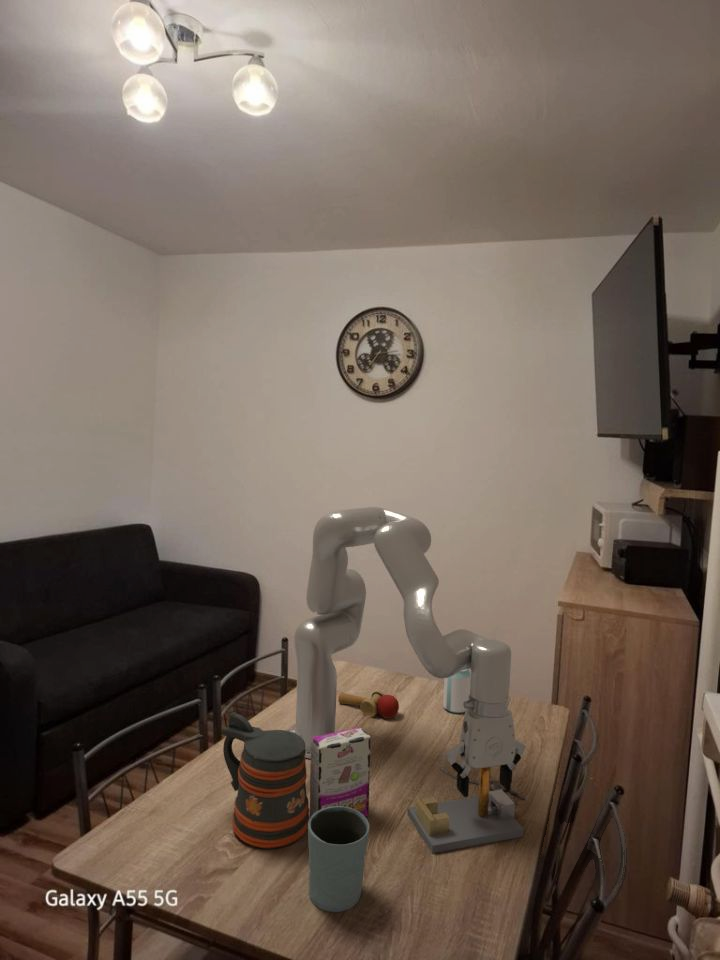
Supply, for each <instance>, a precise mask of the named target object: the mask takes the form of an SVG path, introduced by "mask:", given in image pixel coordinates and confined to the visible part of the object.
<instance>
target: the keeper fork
mask: <svg viewBox="0 0 720 960" xmlns="http://www.w3.org/2000/svg"><path fill="white" fill-rule="evenodd" d="M438 803H439V801H438V800H437V799H436V797H435V796H434V797H429V798H428V797H427V798H422V799H416V800H415V806H416V810H415V815H416V817H417V818H418V820H419V821H420V823H421V824H422V826H423V827H424V829H425V831H426V832H427V834H428V835H429V836H433V835H439V834H444V833H449V818H450V817H449V816H448V815H447V813H440V814H437V813H438Z"/></svg>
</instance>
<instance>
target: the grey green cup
mask: <svg viewBox="0 0 720 960" xmlns="http://www.w3.org/2000/svg"><path fill="white" fill-rule="evenodd" d="M307 832H308V833H307V835H308V836H307V840H308V841H307V845H308V854H309V856H308V859H309V860H308V869H309V872H308V893H309V894H308V895H309V899H310V900H311V902H312V903H313V904H314V905H315V907H317V908H318V909H320V910H322V911H326V912H329V913H340V912H344V911H348V910H350V909H352V908H353V907H354V906H356V905H357V904H358V902H359V901H360V898H361V894H362V888H363V879H364V871H365V869H364V868H365V862H366V860H365V856H366V854H367V847H368V842H369V837H370V836H369V835H370V823H369V821H368V819H367V818H366V816H364V815H363V814H361V813H360V812H358V811H357V810H354V809H352V808H348V807H343V806H332V807H326V808H323V809H321V810H319V811H317V812H315V813H314V814H313V815H312V816H311V818H310V817H309V822H308V829H307Z"/></svg>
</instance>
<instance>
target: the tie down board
mask: <svg viewBox="0 0 720 960" xmlns="http://www.w3.org/2000/svg"><path fill="white" fill-rule="evenodd" d="M478 797H479V795H477V796H472V797H464V798H459V799H453V800H452V799H451V800H445V801H440V802H439V801H438V813H437V814H440V813H447V815H448V816H449V817H450V818H449V833H444V834H439V835H433V836H429V835H428V834H427V832H426V831H425V829H424V827H423V826H422V824H421V823H420V821H419V820H418V818H417V817H416V815H415V810H416V805H415V806H408V807H407V817H408V819H409V820H410V821H411V823H412V824H413V825H414V827H415V829H416V830H417V832H418V834H419V835H420V837H421V839H423V841H424V843H425V844H426V846H427V848H428V849H429V851H430V852H431V854H436V853H441V852H447V851H454V850H458V849H462V848H463V849H465V848H469V847H475V846H479V845H485V844H489V843H496V842H502V841H507V840H513V839H517V838H518V839H519V838H523V837H524V829H525V828H523V826H521V824H520V823H519V822H518V821H517V820H516V818H515V817H514V818H512V819H507V820H501V821H500V819H499V818H498V817H497V814H493V813H492V814H491V815H488V816H486V817H482V816H479V815H478Z"/></svg>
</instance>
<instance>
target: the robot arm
mask: <svg viewBox="0 0 720 960" xmlns="http://www.w3.org/2000/svg"><path fill="white" fill-rule="evenodd" d="M430 532H431V531H430V530H429V528H428V527H427V525H425V523H424V522H423V521H420V520H419V519H417V518H414V517H411V516H408V515H406V514H402V513H398V512H396V511H392V510H390V509H386V508H383V507H378V506H370V507H369V506H368V507H359V508H349V509H342V510H336V511H332V512H329V513H326V514H324V515H322V517H320V519H318V521H317V522H316V523H315V526H314V529H313V535H312V554H311V555H312V556H311V562H310V569H309V575H308V582H307V588H306V598H305V600H306V604H307V607H308V609H309V610H310V612H312V613H313V614H315V615H317V616H314V617H310V618H308V619H306V620H304V621H302V622H301V623H300V624H298V626H297V628H296V629H295V632H294V636H293V643H294V650H295V656H296V657H295V658H296V673H297V674H296V675H297V676H296V701H295V704H296V705H295V708H296V709H295V710H296V711H295V724H292V728H291V729H288V731H290V732H293V733H295V734H297V735H299V736H300V737H301V738H302V739H303V740H304V742H305V749H306V754H305V759H310V760H311V738H312V737H317V736H321V735H326V734H330V733H335V732H336V721H337V720H336V717H337V715H336V714H337V688H338V687H337V685H338V681H337V680H338V675H337V668H336V666H335V664H334V662H333V658H332V656H333V654H337V653H338V652H341V651H344V650H346V649H349V647H352V646H353V645H354V644H356V642H357V641H358V639H359V636H360V632H361V629H362V623H363V617H364V611H365V610H364V609H365V603H366V598H367V589H366V588H367V587H366V583H365V580H364V579H363V577H362V575H361V574H360V573H359V572H358V571H357V570H354V569H352V568H348V565H349V555H348V552H347V549H346V548H353V547H359V546H366V545H371V544H372V545H373V544H374V549H375V551H376V552H377V554H378V557H379V558H380V559H381V562H382V564H383V565H384V567H385V568H386V571H387V572H388V573H389V575H390V577H391V579H392V581H393V583H394V585H395V587H396V588H397V590H398V591H399V594H400V595H401V598H402V600H403V620H404V627H405V628H404V629H405V633H406V637H407V639H408V642H409V644H410V646H411V647H412V649H413V651H414V654H415V655H416V657H417V658H418V660H419V662H420V663H421V665H422V666H423V667H424V669H425V670H426V671H427V673H428V674H430V675H431V676H433V677H434V678H436V679H437V678H438V679H441V680H443V679H444V678H449V677H451V676H453V675H455V674H457V673H459V672H460V671H462V670H465V669H468V670H469V669H470V693H469V700H467V701H464V703H463V706H464V708H465V709H467V708H468V709H467V710H466V711H465V712H464V716H463V720H462V724H461V732H460V740H459V743H458V744H456V745H455V746H454V747H452V748H451V749H450V750H448V751H447V752H445V754H444V756H445V757H446V761H448V763H449V765H450V766H451V768H452V769H453V770H454V772H456V776H457V779H456V788H457V790H458V792H460V794H461V795H462V796H463V797H464V798H469V790H470V789H469V788H470V785H469V784H470V783H469V779H470V777H469V776H468V774H469V773H470V771H471V770H472V769H476V770H478V769H479V770H480V768H486V767H491V768H493V767H499V781H498V782H499V783H500V784H501V785H502V786H503V787H504V788H505V789H506V790H507V791H508V790H510V789H512V785H511V784H512V782H513V771H514V770H515V769H516V766H517V764H518V763H519V762H520V761H521V759H522V756H523V754H524V752H525V751H526V748H527V747H526V745H525V744H524V743H523V742H521V741H519V740H517V739H515V738H516V736H515V725H514V724H515V723H514V718H513V712H512V711H510V710H509V704H510V688H511V687H510V683H511V666H512V650H511V648H510V646H509V644H507V643H505V642H503V641H500V640H496V639H490V638H486V637H484V636H481V635H479V634H478V633H475V632H473V631H471V630H468V629H464V628H463V629H457V630H454V631H451V632H449V633H447V634H444V635H443V633H442V632H441V631H440V629H439V627H438V625H437V623H436V620H435V617H434V613H433V608H432V607H433V600H434V599H433V598H434V595H435V593H436V591H437V588H438V586H439V585H440V584H439V582H440V579H439V577H438V575H437V573H436V572H435V571H434V569H433V567H432V565H431V563H430V562H429V560H428V559H427V557H426V555H425V553H427V552H428V551H429V549H430V547H431V544H432V536H431V533H430ZM457 757H460V759H459V760H458V762H457Z"/></svg>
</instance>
